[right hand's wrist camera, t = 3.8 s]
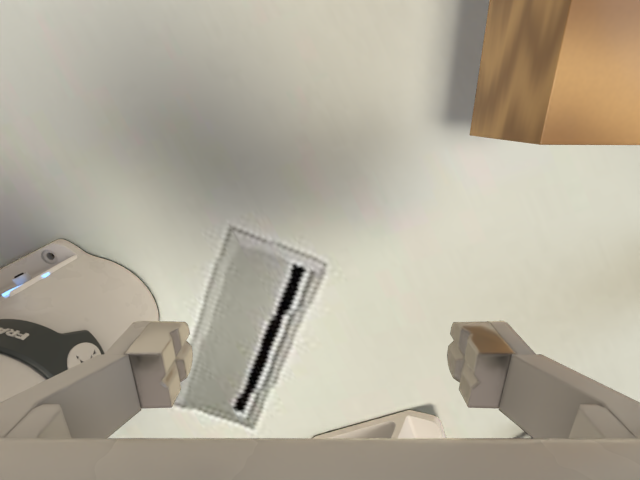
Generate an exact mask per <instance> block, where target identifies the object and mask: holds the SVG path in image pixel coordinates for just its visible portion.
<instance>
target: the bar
mask: <svg viewBox="0 0 640 480" xmlns="http://www.w3.org/2000/svg"><path fill="white" fill-rule="evenodd" d="M470 135H471V136H479V137H486V138H494V139H501V140H509V141H517V142H524V143H532V144H539V145H640V0H490V2H489V9H488V16H487V22H486V29H485V36H484V42H483V49H482V56H481V62H480V69H479V76H478V83H477V89H476V96H475V103H474V109H473V116H472V123H471V129H470Z"/></svg>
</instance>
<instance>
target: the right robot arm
mask: <svg viewBox="0 0 640 480" xmlns="http://www.w3.org/2000/svg"><path fill="white" fill-rule="evenodd" d="M51 253H52V254H53V255H54V256H55V257H54V256H52V254H51ZM189 334H190V332H189V327H188V324H187V323H186V322H170V321H159V314H158V309H157V305H156V303H155V300H154V298H153V296H152V294H151V293H150V291H149V290H148V288H147V287H146V286H145V285H144V283H143V282H142V281H141V280H140V279H139V278H138V277H137V276H135V275H134V274H133V273H132V272H130V271H129V270H127V269H126V268H124V267H122V266H121V265H119V264H116V263H114V262H112V261H109V260H106V259H103V258H99V257H96V256H93V255H90V254H88V253H86V252H85V251H83V250H82V249H80V248H79V247H77V246H76V245H74V244H73V243H71V242H69V241H67V240H63V239H58V240H55V241H53V242H51V243H49V244H47V245H45V246H43V247H42V248H40V249H38V250H36V251H34V252H32V253H30V254H28V255H26V256H24V257H22V258H20V259H18V260H17V261H15V262H13V263H11V264H9V265H7V266H5V267H3V268H1V269H0V480H640V402H637V401H635V400H633V399H631V398H629V397H627V396H625V395H623V394H621V393H619V392H617V391H615V390H613V389H611V388H609V387H607V386H605V385H603V384H601V383H599V382H597V381H595V380H593V379H590V378H588V377H586V376H584V375H582V374H580V373H578V372H576V371H574V370H572V369H570V368H568V367H566V366H564V365H562V364H560V363H558V362H556V361H554V360H552V359H550V358H548V357H546V356H543V355H536V354H535V353H534V352H533V351H532V349H531V348H530V347H529V346H528V345H527V344H526V343H525V342H524V341H523V340H522V338H521V337H520V336H519V335H518V334H517V333H516V332H515V331H514V330H513V329H512V327H511V326H510V325H509V324H508V323H507V322H504V321H487V322H453V324H452V327H451V332H450V334H451V336H452V338H453V340H454V341H453V342H452V343H451V344H450V345H449V346H448V352H447V359H448V366H449V370H450V373H451V375H452V377H453V378H454V379H455V380H457V381H458V382H460V386H459V391H460V392H461V394H462V396H463V398H464V400H465V402H466V404H467V406H468V407H469V408H499V410H500V411H501V412H502V413H503V414H504V415H506V416H507V417H508V418H509V419H510V420H512V421H513V422H514V423H515V424H517V425H518V426H519V427H520V428H521V429H523V430H524V431H525V432H526V433H527V434H529V435H530V436H531V437H532V438H108V437H109V436H110V435H112V434H113V433H114V432H115V431H116V430H118V429H119V428H120V427H121V426H122V425H124V424H125V423H126V422H127V421H128V420H130V419H131V418H132V417H133V416H134V415H136V414H137V413H138V412H139V411H141V408H170V407H172V406H173V404H174V402H175V400H176V398H177V396H178V394H179V392H180V391H181V386H180V382H182V381H183V380H185V379H186V378H187V377H188V375H189V372H190V370H191V366H192V361H193V351H192V346H191V345H190V344H189V343H188V342H187V341H186V340H187V338H188V336H189Z"/></svg>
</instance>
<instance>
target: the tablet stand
mask: <svg viewBox="0 0 640 480" xmlns="http://www.w3.org/2000/svg"><path fill="white" fill-rule="evenodd" d="M313 438H446V435H445V432H444V429H443V426H442V422H441V420H440V419H439V418H438V417H436V416H434V415H430V414H425V413H421V412H417V411H412V410H407V411H403V412H400V413H396V414H393V415H389V416H386V417H382V418H378V419H375V420H371V421H368V422H364V423H361V424H357V425H353V426H350V427H346V428H343V429H339V430H336V431H332V432H329V433H325V434H321V435H318V436H315V437H313Z"/></svg>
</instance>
